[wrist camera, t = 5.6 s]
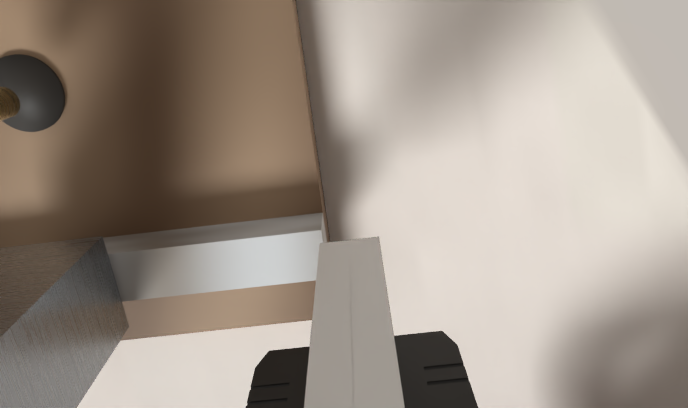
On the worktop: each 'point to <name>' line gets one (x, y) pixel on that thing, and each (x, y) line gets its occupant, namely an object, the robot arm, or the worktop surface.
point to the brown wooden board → (167, 153)
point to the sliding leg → (55, 315)
